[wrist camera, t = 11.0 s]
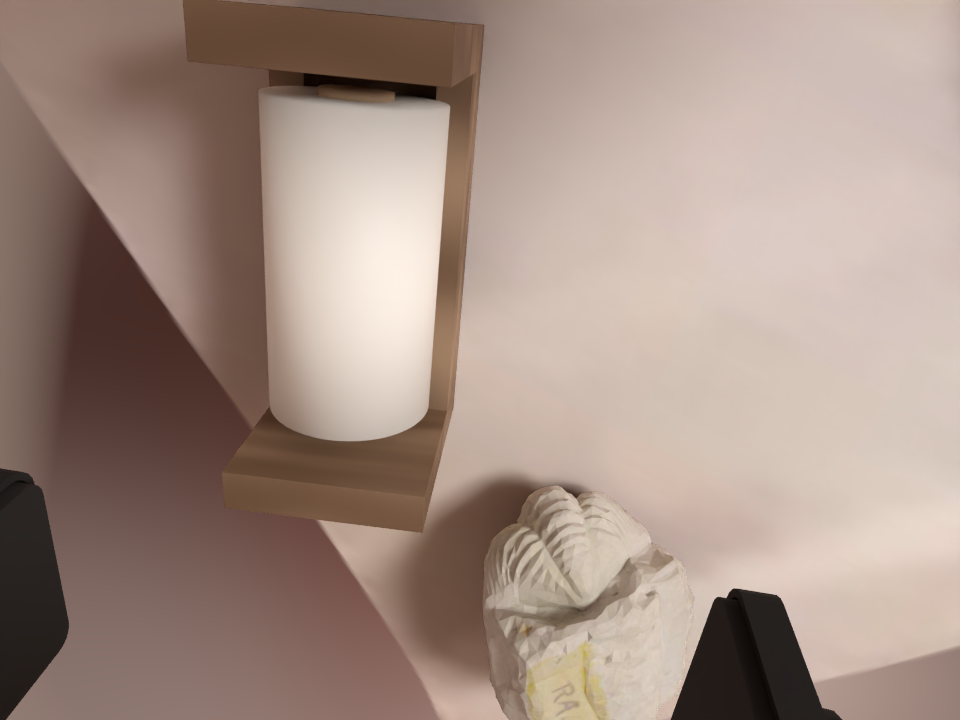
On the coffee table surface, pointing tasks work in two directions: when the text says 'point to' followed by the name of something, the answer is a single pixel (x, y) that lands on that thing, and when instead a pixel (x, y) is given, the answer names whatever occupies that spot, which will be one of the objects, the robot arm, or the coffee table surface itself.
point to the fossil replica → (583, 612)
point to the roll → (351, 255)
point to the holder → (453, 80)
